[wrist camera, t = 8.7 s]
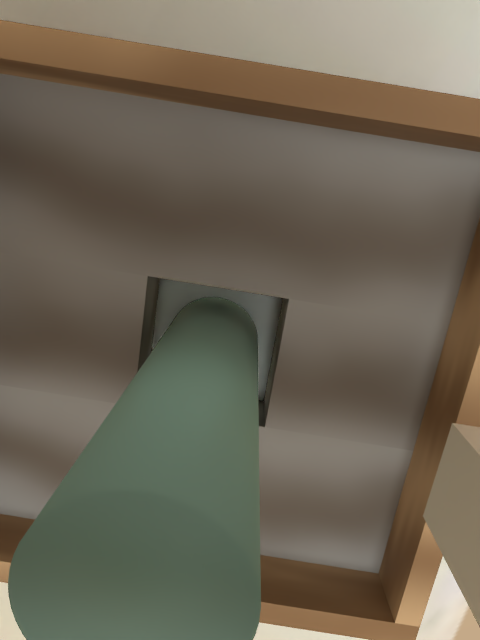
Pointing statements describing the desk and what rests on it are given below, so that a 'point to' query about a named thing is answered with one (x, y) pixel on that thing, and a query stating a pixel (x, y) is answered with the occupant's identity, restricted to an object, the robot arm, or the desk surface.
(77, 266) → the socket box
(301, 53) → the desk surface
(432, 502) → the robot arm
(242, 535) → the peg
